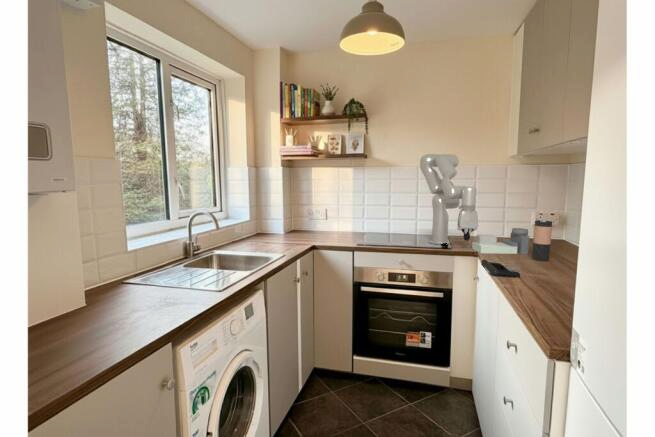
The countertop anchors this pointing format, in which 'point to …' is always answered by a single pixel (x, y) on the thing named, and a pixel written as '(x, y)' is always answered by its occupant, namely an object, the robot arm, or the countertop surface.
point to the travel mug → (542, 240)
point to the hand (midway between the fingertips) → (466, 240)
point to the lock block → (486, 240)
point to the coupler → (507, 244)
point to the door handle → (500, 269)
